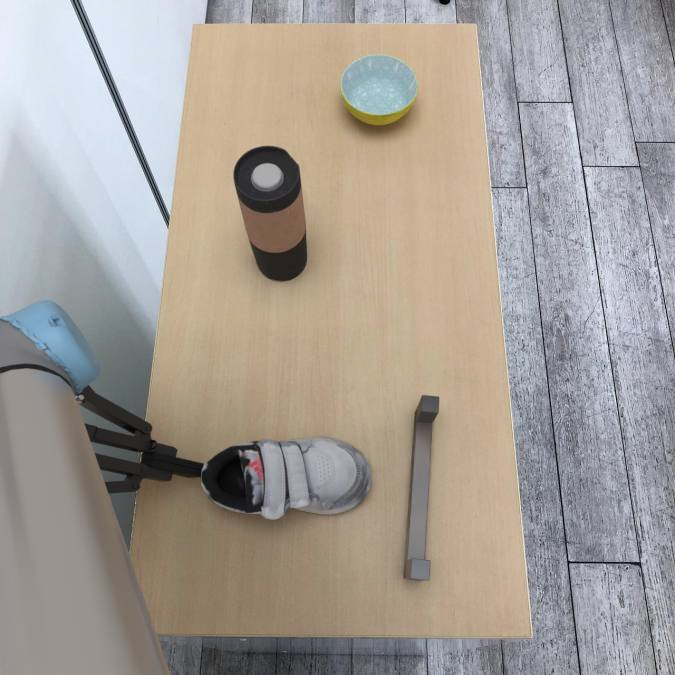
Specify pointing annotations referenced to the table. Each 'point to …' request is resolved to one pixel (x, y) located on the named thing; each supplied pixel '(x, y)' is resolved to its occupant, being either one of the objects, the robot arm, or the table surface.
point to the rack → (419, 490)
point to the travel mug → (273, 210)
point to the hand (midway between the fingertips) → (196, 470)
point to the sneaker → (287, 477)
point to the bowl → (378, 88)
